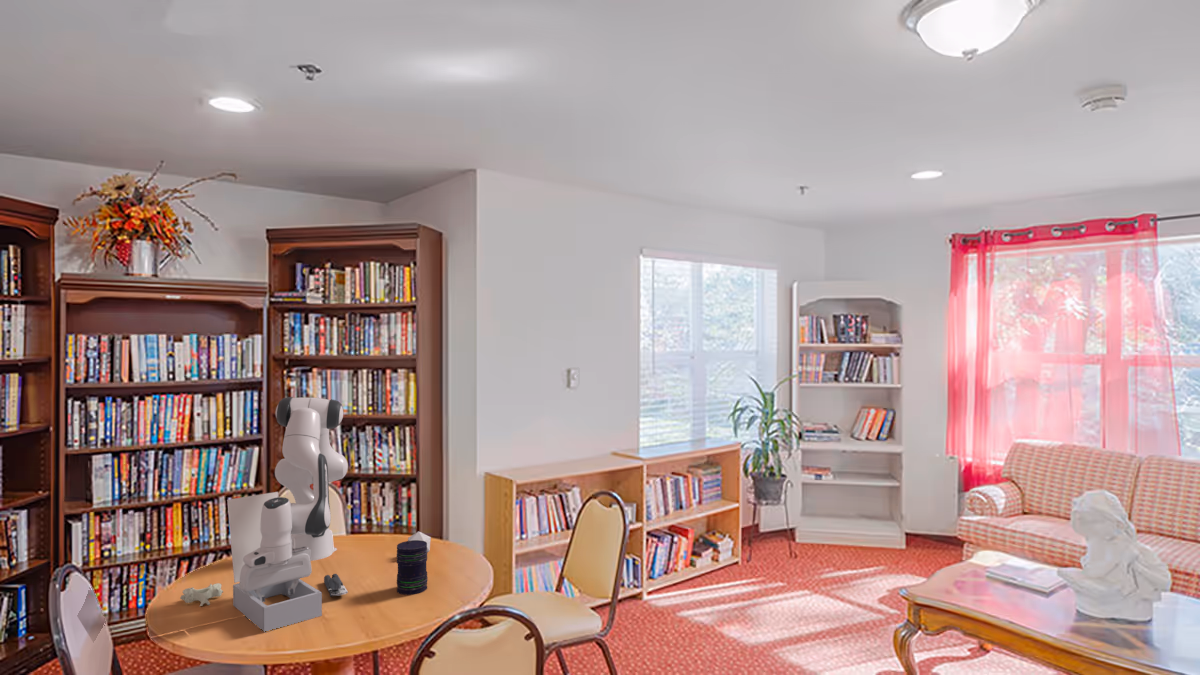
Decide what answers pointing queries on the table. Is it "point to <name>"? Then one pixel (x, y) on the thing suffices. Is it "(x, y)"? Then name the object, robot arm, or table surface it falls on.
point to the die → (421, 539)
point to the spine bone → (202, 594)
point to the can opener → (334, 585)
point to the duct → (279, 605)
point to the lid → (245, 527)
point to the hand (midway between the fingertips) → (276, 597)
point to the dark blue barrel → (412, 567)
